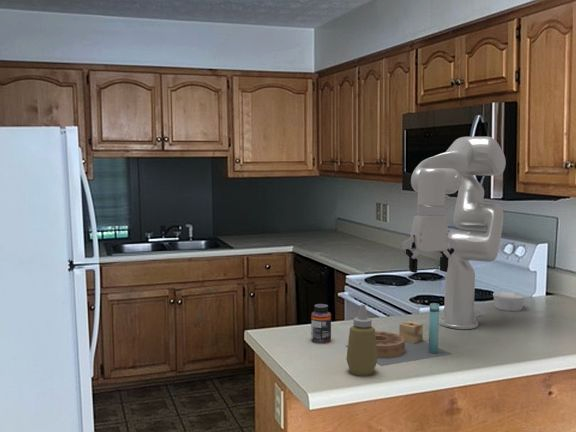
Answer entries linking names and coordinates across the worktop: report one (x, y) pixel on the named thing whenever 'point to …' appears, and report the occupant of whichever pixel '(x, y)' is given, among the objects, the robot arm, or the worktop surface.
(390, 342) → the faceted wooden ring
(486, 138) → the robot arm
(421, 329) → the cube bead
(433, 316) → the teal marker pen
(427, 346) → the felt mat
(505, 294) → the ramekin
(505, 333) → the worktop surface
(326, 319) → the supplement bottle
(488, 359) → the worktop surface
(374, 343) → the squeeze bottle
